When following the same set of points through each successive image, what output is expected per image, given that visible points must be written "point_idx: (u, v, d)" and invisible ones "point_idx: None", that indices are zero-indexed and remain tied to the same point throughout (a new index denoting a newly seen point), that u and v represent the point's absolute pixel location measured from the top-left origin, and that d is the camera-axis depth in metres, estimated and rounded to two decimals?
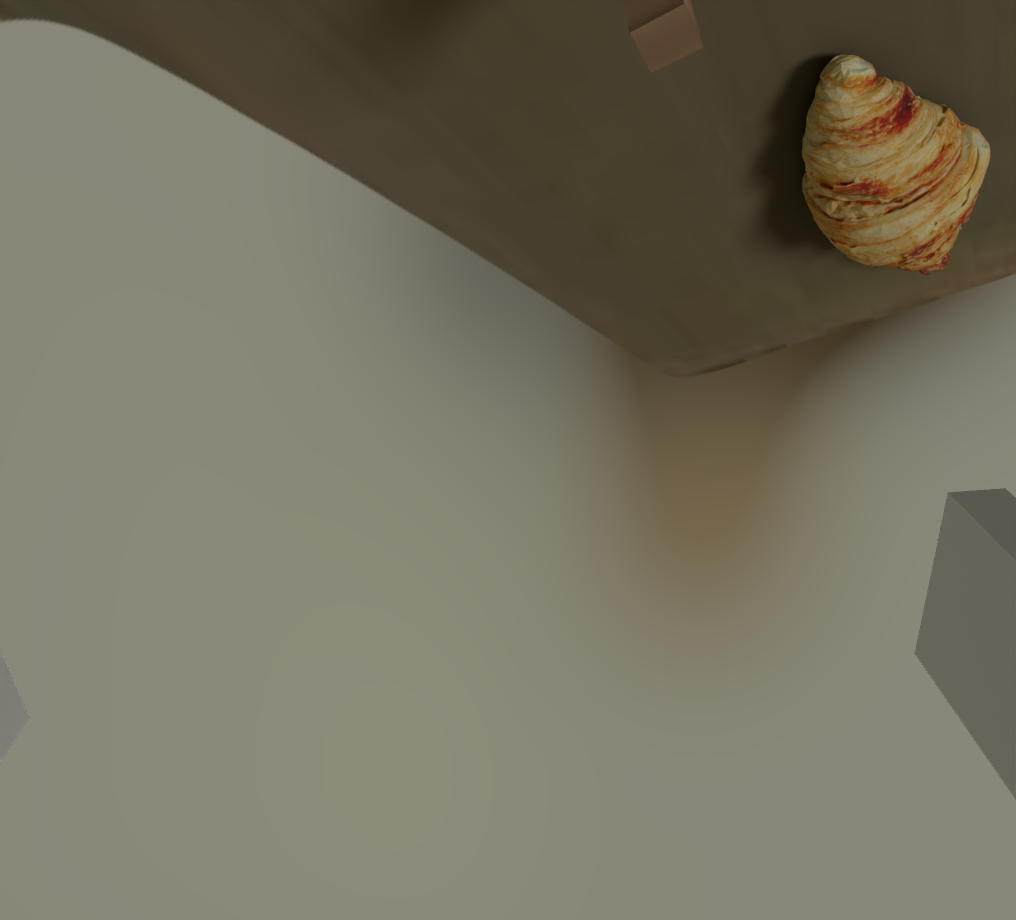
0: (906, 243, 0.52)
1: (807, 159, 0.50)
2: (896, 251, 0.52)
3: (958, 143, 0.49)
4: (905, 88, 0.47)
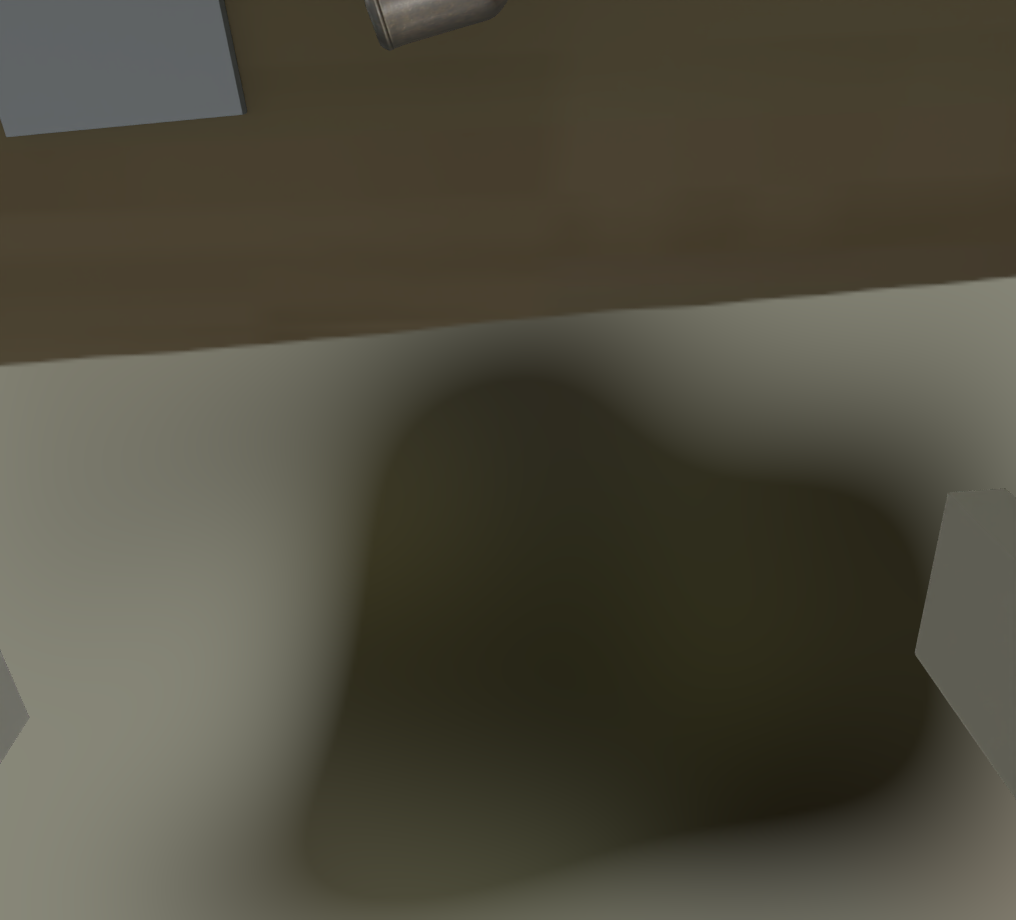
0: None
1: None
2: None
3: None
4: None
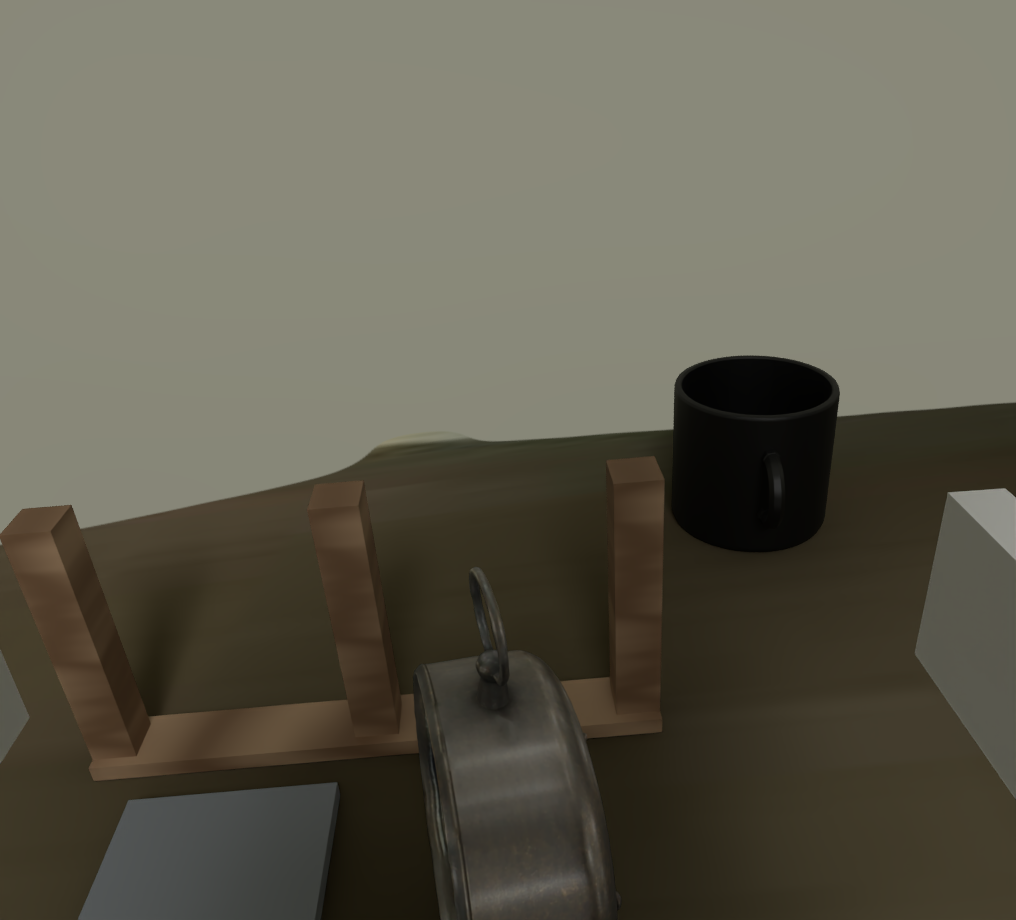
0: None
1: None
2: None
3: None
4: None
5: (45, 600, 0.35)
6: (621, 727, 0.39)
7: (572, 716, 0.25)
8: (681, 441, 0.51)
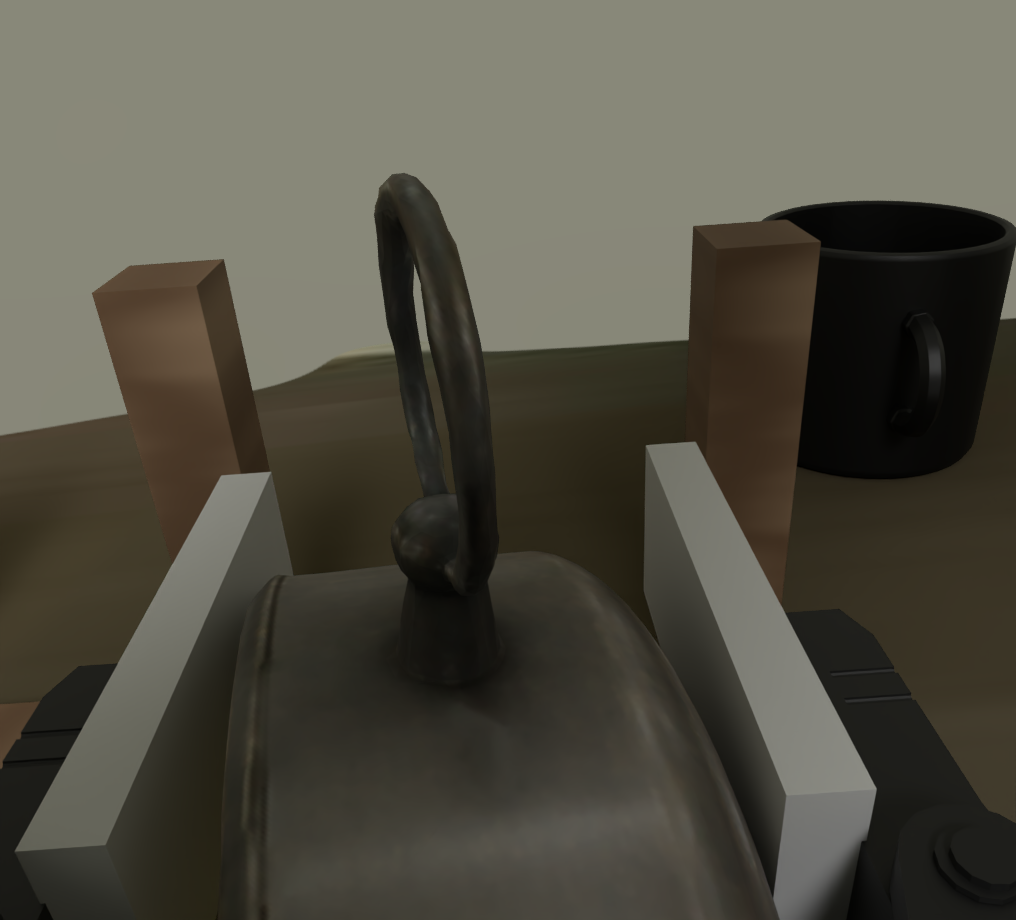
0: None
1: None
2: None
3: None
4: None
5: None
6: None
7: (693, 715, 0.08)
8: None
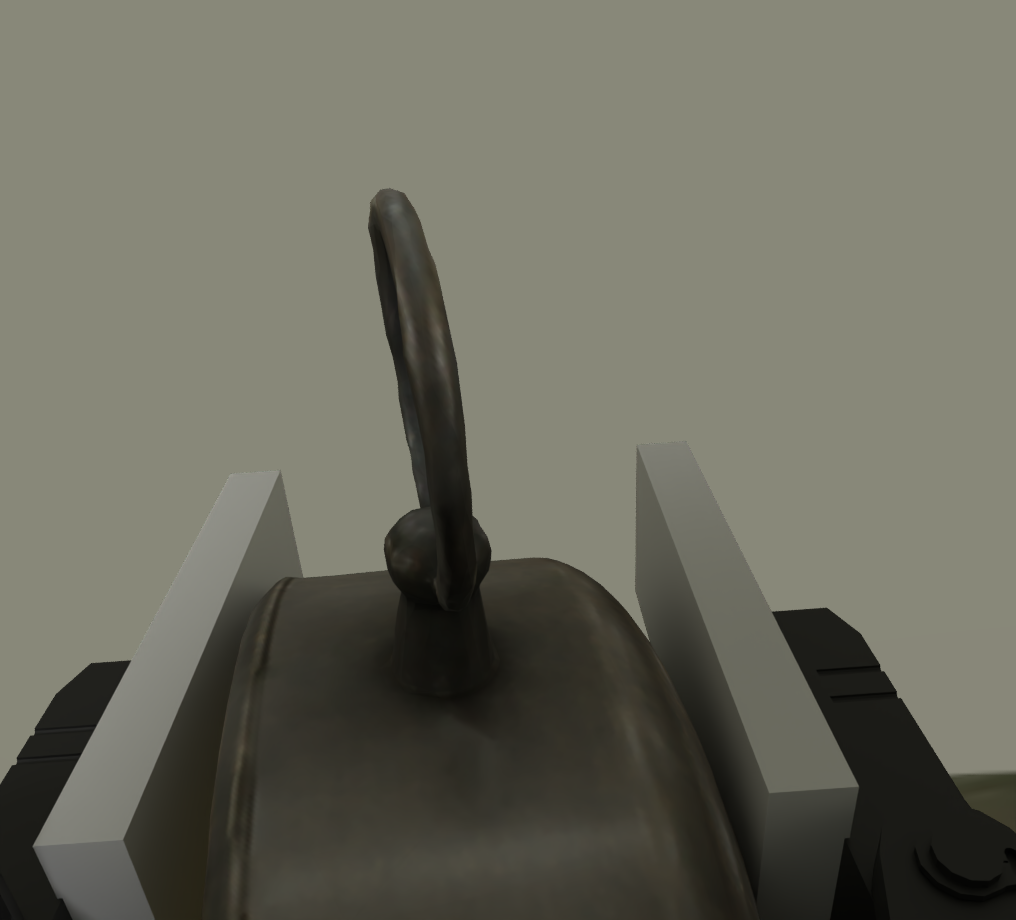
0: None
1: None
2: None
3: None
4: None
5: None
6: None
7: (687, 733, 0.08)
8: None
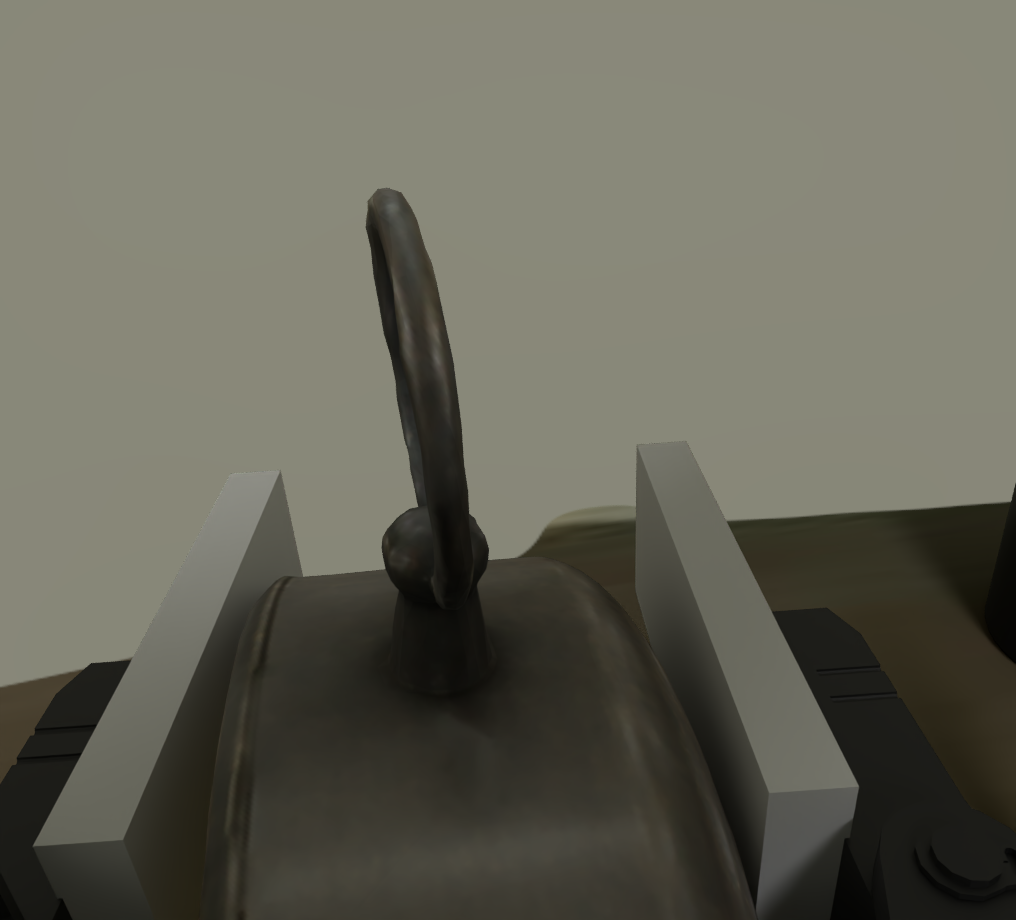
0: None
1: None
2: None
3: None
4: None
5: None
6: None
7: (685, 731, 0.08)
8: None
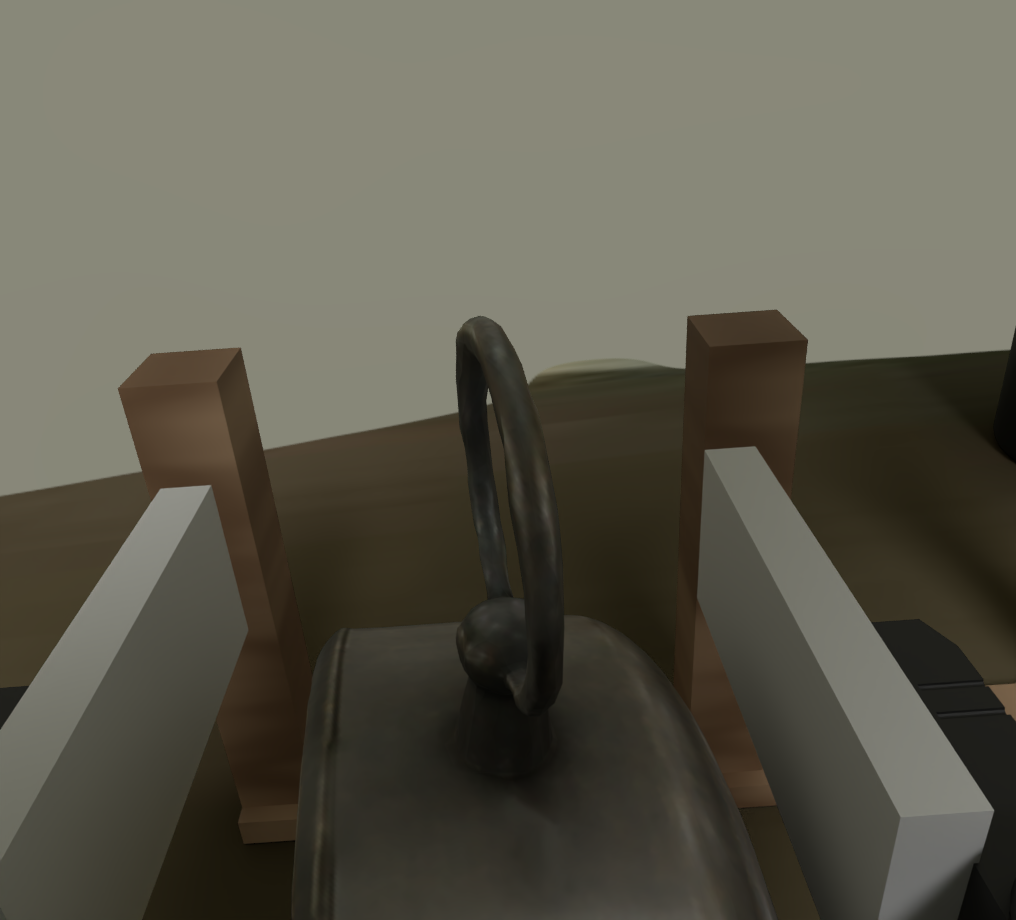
0: None
1: None
2: None
3: None
4: None
5: None
6: None
7: (734, 816, 0.08)
8: None
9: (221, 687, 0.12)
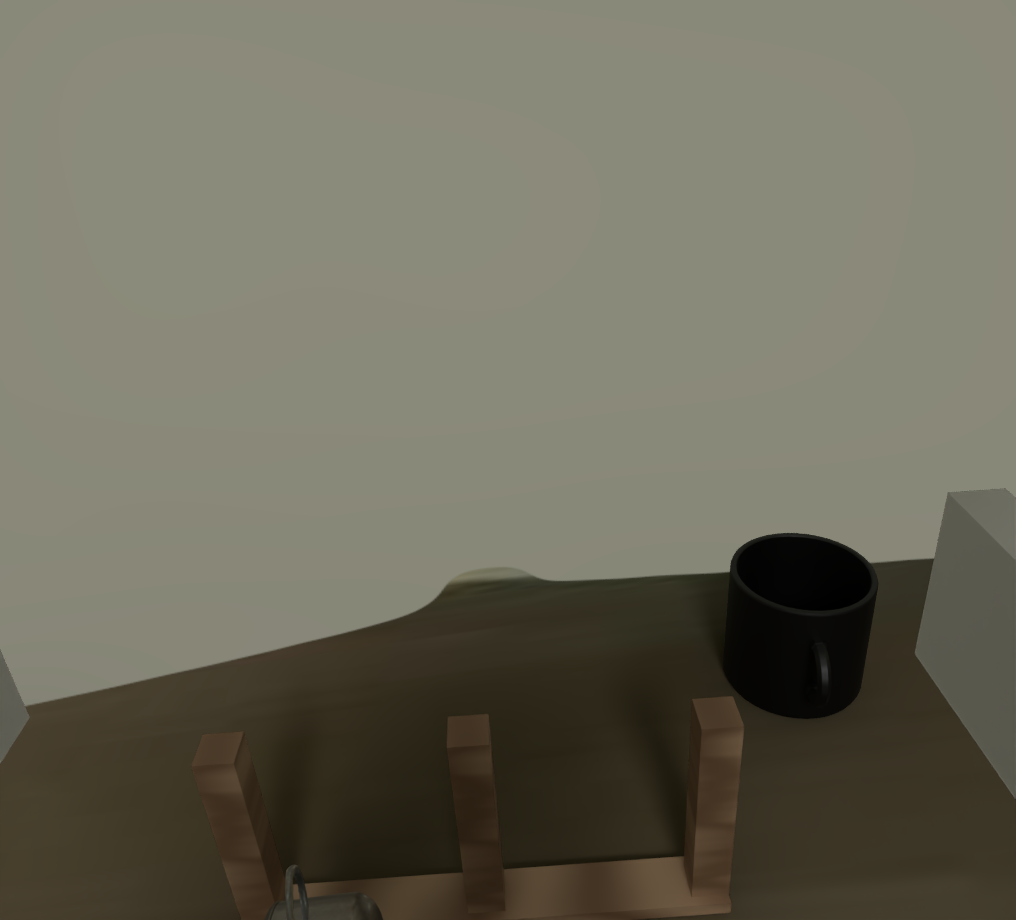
0: None
1: None
2: None
3: None
4: None
5: (222, 812, 0.41)
6: (696, 909, 0.45)
7: None
8: (736, 619, 0.57)
9: None
